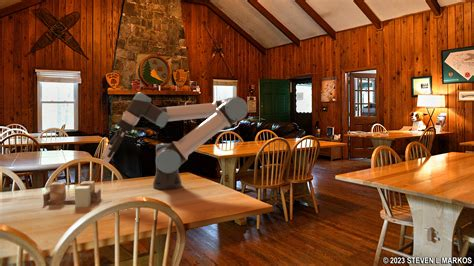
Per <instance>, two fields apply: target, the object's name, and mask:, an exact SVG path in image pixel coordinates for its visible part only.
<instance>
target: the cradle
mask: <svg viewBox="0 0 474 266" xmlns="http://www.w3.org/2000/svg"><path fill="white" fill-rule="evenodd" d="M66 184H67V183H66V181H53V182H52V183H50V184H49V190H48V191H46V192H45V193H44V194H43V195H42V197H43V206H45V205H46V206H48V205H49V206H50V205H52V206H53V205H75V195H67V191H66V190H67V188H66ZM95 185H96V184H95V180H86V181H82V182H81V183H79V186H90V199H91V204H98V203H99V201H100V200H101V198H102V195H101V194H102V192H101V191H102V189H101V188H97V189H96V186H95Z"/></svg>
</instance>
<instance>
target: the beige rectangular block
mask: <svg viewBox="0 0 474 266" xmlns="http://www.w3.org/2000/svg"><path fill="white" fill-rule="evenodd" d="M74 196H75V204H74V205H75V208H88V207H89V206H90V205H91V204H92V203H91V199H90V186H80V185H77V186H76V187H75V188H74Z"/></svg>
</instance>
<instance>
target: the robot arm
mask: <svg viewBox="0 0 474 266" xmlns="http://www.w3.org/2000/svg"><path fill="white" fill-rule="evenodd" d="M151 101H152V98H151V97H149V96H148V95H146V94H144V93H143V92H142V91H141V92H140V91H139V92H136V94H135V95H134V97H133V98H132V100H131V102H130V103H129V105H128V106H127V108H126V109H125V111H123V112H122V114H123V115H122V116H121V118H119V121H118V122H117V124H116V125H117V126H118V129H117V130H116V131H115V134H114V135H113V136H112V137H111V139H110V140H109V142H108V144H107V146H106V147H105V149H104V151H103V152H102V154H101V156H102V157H103V159H102V160H101V162H102V163H103V164H106V165H108V164H109V162H110V161H111V160H112V158H113V156H114V154H115V153H116V152H117V151H118V149H119V148H120V145H121V144H122V142H123V139H124V138H125V137H126V135H127V133H126V132H128V133H132V132H133V130H134V128H135V126H136V125H137V124H138V122H139V120H140V119H141V117H144V118H145V119H146V120H148V121H149V122H151V123H153V124H155V125H156V126H159V127H160V128H164V127H165V126H166V125H167V123H168V122H174V121H176V122H177V121H182V120H183V121H185V120H195V119H205V118H207V119H206V120H204V121H203V122H201V123H200V124H199V125H197V126H196V127H195V128H194V129H193V130H191V131H190V132H188V133H187V134H186V135H185V136H183V137H181V139H179V140H178V141H172V142H170V143H159V144H156V145H155V176H154V179H153V182H152V187H153V189H156V190H175V189H179V188H182V182H183V181H182V179H181V176H180V173H179V169H180V167H181V165H183V164H184V163H185V162H186V161H188V157H189V155H190V154H192V153H193V152H194V151H196V150H197V149H198V148H199V147H201V146H202V145H204V144H205V143H206V142H207V141H209V140H210V139H211V138H213V137H214V136H215V135H216V134H218V133H219V132H220V131H221V130H223V129H224V128H225V127H232V126H233V125H234V124H235V123H237V122H238V121H241V120H244V118H246V116H247V114H248V111H249V110H248V107H249V106H248V105H247V102H246V101H245V100H244V99H243V98H241V97H239V96H232V97H228V98H225V99H221V100H214V101H213V102H211V103H200V104H198V103H197V104H187V105H178V106H177V105H176V106H174V105H173V106H165V107H158V106H156V105H154V104H153V103H152V102H151Z"/></svg>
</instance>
